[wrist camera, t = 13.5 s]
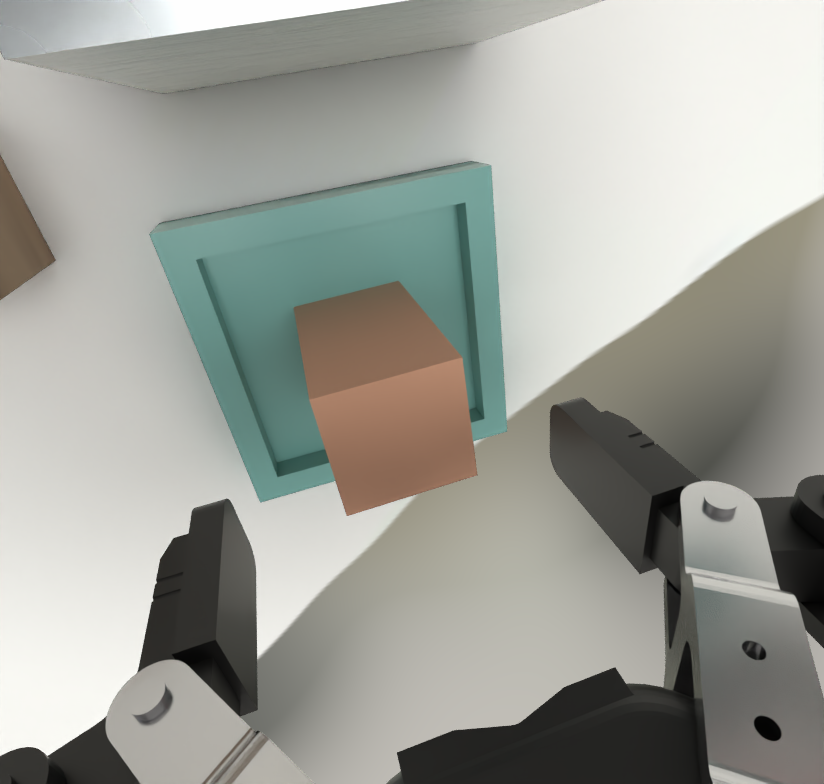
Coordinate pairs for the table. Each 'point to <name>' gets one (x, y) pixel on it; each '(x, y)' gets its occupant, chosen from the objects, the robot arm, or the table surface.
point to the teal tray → (328, 277)
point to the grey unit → (245, 35)
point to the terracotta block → (385, 396)
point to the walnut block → (18, 238)
